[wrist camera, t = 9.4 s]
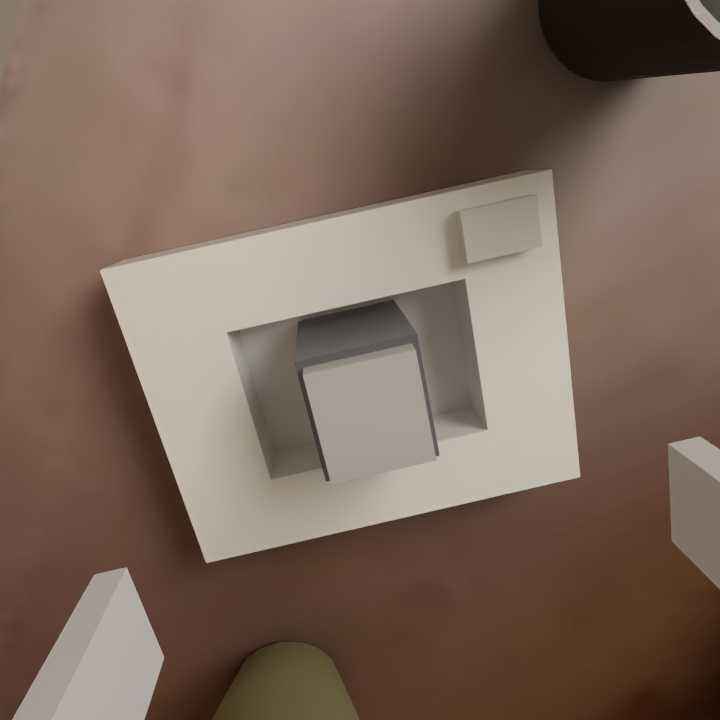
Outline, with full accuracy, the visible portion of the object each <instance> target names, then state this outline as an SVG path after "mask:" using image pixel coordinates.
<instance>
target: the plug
mask: <svg viewBox="0 0 720 720" xmlns="http://www.w3.org/2000/svg"><path fill="white" fill-rule="evenodd" d="M294 363H295V367H296V371H297V374H298V378H299V382H300V386H301V390H302V393H303V397H304V401H305V405H306V408H307V412H308V416H309V420H310V424H311V427H312V431H313V435H314V439H315V442H316V446H317V450H318V454H319V458H320V461H321V465H322V469H323V473H324V476H325V480H326V482H328V481H330V482H331V485H332V484H336V483H340V482H345V481H349V480H353V479H358V478H362V477H366V476H371V475H375V474H379V473H384V472H388V471H392V470H397V469H401V468H405V467H410V466H414V465H418V464H423V463H427V462H431V461H436V456H440V455H439V449H438V444H437V438H436V433H435V427H434V422H433V417H432V411H431V406H430V400H429V395H428V390H427V384H426V379H425V373H424V368H423V363H422V357H421V352H420V346H419V341H418V336H417V333H416V331H415V330H414V328H413V327H412V326H411V324H410V323H409V321H408V320H407V318H406V317H405V315H404V314H403V312H402V311H401V310H400V308H399V307H398V305H397V304H396V302H395V301H394V300H390V301H385V302H381V303H376V304H372V305H368V306H363V307H359V308H354V309H350V310H346V311H341V312H337V313H332V314H328V315H324V316H319V317H315V318H310V319H306V320H301V321H298V328H297V338H296V348H295V358H294Z"/></svg>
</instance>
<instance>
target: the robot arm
mask: <svg viewBox="0 0 720 720" xmlns="http://www.w3.org/2000/svg"><path fill="white" fill-rule="evenodd" d="M668 455H669V482H670V509H671V535H672V542H673V543H674V544H675V545H676V546H677V547H678V548H679V549H680V550H681V551H682V552H683V553H684V554H685V555H686V556H687V557H688V558H689V559H690V560H691V561H692V562H693V563H694V564H695V565H696V566H697V567H698V568H699V569H700V570H701V571H702V572H703V573H704V574H705V575H706V576H707V577H708V578H709V579H710V580H711V581H712V582H713V583H714V584H715V585H716V586H717V587H718V588H719V589H720V449H718V448H716V447H715V446H713V445H712V444H710V443H709V442H707V441H706V440H704V439H703V438H701V437H696V438H691V439H687V440H683V441H678V442H674V443H670V444H668ZM163 660H164V656H163V653H162V651H161V649H160V646H159V644H158V641H157V639H156V637H155V634H154V632H153V629H152V627H151V625H150V622H149V620H148V617H147V615H146V613H145V610H144V608H143V605H142V603H141V601H140V598H139V596H138V593H137V591H136V589H135V586H134V584H133V581H132V579H131V576H130V574H129V572H128V569H127V567H126V568H121V569H117V570H112V571H108V572H104V573H99V574H95V575H94V576H93V578H92V580H91V581H90V583H89V585H88V587H87V588H86V590H85V592H84V594H83V595H82V597H81V599H80V601H79V602H78V604H77V606H76V608H75V610H74V611H73V613H72V615H71V617H70V618H69V620H68V622H67V624H66V625H65V627H64V629H63V631H62V632H61V634H60V636H59V638H58V640H57V641H56V643H55V645H54V647H53V648H52V650H51V652H50V654H49V655H48V657H47V659H46V661H45V662H44V664H43V666H42V668H41V670H40V671H39V673H38V675H37V677H36V678H35V680H34V682H33V684H32V685H31V687H30V689H29V691H28V692H27V694H26V696H25V698H24V700H23V701H22V703H21V705H20V707H19V708H18V710H17V712H16V714H15V715H14V717H13V719H12V720H145V716H146V713H147V710H148V707H149V704H150V701H151V698H152V695H153V691H154V688H155V685H156V682H157V679H158V676H159V673H160V669H161V666H162V663H163Z"/></svg>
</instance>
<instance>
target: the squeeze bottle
mask: <svg viewBox="0 0 720 720" xmlns="http://www.w3.org/2000/svg"><path fill="white" fill-rule="evenodd" d="M212 720H359V717H358V715H357V713H356V710H355V708H354V706H353V703H352V701H351V699H350V697H349V695H348V693H347V690H346V688H345V686H344V684H343V682H342V679H341V677H340V675H339V673H338V671H337V669H336V666H335V664H334V662H333V660H332V659H331V658H330V657H329V656H328V655H327V654H325V653H324V652H323V651H322V650H321V649H320V648H317V647H315V646H312V645H309V644H306V643H303V642H277V643H274V644H271V645H268V646H265V647H261V648H260V649H258V650H257V651H256V652H254V653H253V654H252V655H250V656H249V657H248V658H246V659H245V661H244V663H243V665H242V666H241V668H240V670H239V672H238V673H237V675H236V677H235V679H234V681H233V682H232V684H231V686H230V688H229V690H228V691H227V693H226V695H225V697H224V698H223V700H222V702H221V704H220V706H219V707H218V709H217V711H216V713H215V714H214V716H213V718H212Z"/></svg>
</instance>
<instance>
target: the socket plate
mask: <svg viewBox="0 0 720 720" xmlns="http://www.w3.org/2000/svg"><path fill="white" fill-rule="evenodd" d="M100 273H101V275H102V278H103V281H104V284H105V286H106V289H107V292H108V295H109V297H110V300H111V303H112V306H113V308H114V311H115V314H116V317H117V319H118V322H119V325H120V328H121V330H122V333H123V336H124V339H125V341H126V344H127V347H128V350H129V352H130V355H131V358H132V361H133V363H134V366H135V369H136V372H137V374H138V377H139V380H140V383H141V385H142V388H143V391H144V394H145V396H146V399H147V402H148V405H149V407H150V410H151V413H152V416H153V418H154V421H155V424H156V427H157V429H158V432H159V435H160V438H161V440H162V443H163V446H164V449H165V451H166V454H167V457H168V460H169V462H170V465H171V468H172V471H173V473H174V476H175V479H176V482H177V484H178V487H179V490H180V493H181V495H182V498H183V501H184V504H185V506H186V509H187V512H188V515H189V517H190V520H191V523H192V526H193V528H194V531H195V534H196V537H197V539H198V542H199V545H200V548H201V550H202V553H203V556H204V559H205V561H206V563H209V562H214V561H218V560H222V559H227V558H231V557H235V556H240V555H244V554H248V553H253V552H257V551H261V550H266V549H270V548H274V547H279V546H283V545H287V544H292V543H296V542H300V541H305V540H309V539H313V538H318V537H322V536H326V535H331V534H335V533H339V532H344V531H348V530H352V529H357V528H361V527H365V526H370V525H374V524H378V523H383V522H387V521H391V520H396V519H400V518H404V517H409V516H413V515H417V514H422V513H426V512H430V511H435V510H439V509H443V508H448V507H452V506H456V505H461V504H465V503H469V502H474V501H478V500H482V499H487V498H491V497H495V496H500V495H504V494H509V493H513V492H517V491H522V490H526V489H530V488H535V487H539V486H543V485H548V484H552V483H556V482H561V481H565V480H569V479H574V478H578V477H580V469H579V458H578V447H577V436H576V425H575V414H574V403H573V393H572V382H571V371H570V360H569V349H568V338H567V327H566V317H565V306H564V295H563V284H562V273H561V262H560V251H559V241H558V230H557V219H556V208H555V197H554V186H553V175H552V169H545V170H525V171H520V172H515V173H511V174H506V175H502V176H497V177H493V178H488V179H484V180H479V181H475V182H470V183H466V184H461V185H457V186H452V187H448V188H444V189H439V190H435V191H430V192H426V193H421V194H417V195H412V196H408V197H403V198H399V199H394V200H390V201H385V202H381V203H376V204H372V205H367V206H363V207H358V208H354V209H349V210H345V211H340V212H336V213H331V214H327V215H323V216H318V217H314V218H309V219H305V220H300V221H296V222H291V223H287V224H282V225H278V226H273V227H269V228H264V229H260V230H255V231H251V232H246V233H242V234H237V235H233V236H228V237H224V238H219V239H215V240H210V241H206V242H202V243H197V244H193V245H188V246H184V247H179V248H175V249H170V250H166V251H161V252H157V253H152V254H148V255H143V256H139V257H134V258H130V259H125V260H123V261H120V262H118V263H115V264H113V265H111V266H108V267H106V268H104V269H101V270H100ZM390 300H394V301H395V302H396V304H397V305H398V307H399V308H400V310H401V311H402V312H403V314H404V315H405V317H406V318H407V320H408V321H409V323H410V324H411V326H412V327H413V328H414V330H415V331H416V333H417V336H418V341H419V346H420V352H421V357H422V363H423V368H424V373H425V379H426V384H427V390H428V395H429V400H430V406H431V411H432V417H433V422H434V427H435V433H436V438H437V444H438V449H439V455H440V456H436V461H431V462H427V463H423V464H418V465H414V466H410V467H405V468H401V469H397V470H392V471H388V472H384V473H379V474H375V475H371V476H366V477H362V478H358V479H353V480H349V481H345V482H340V483H336V484H332V485H331V482H330V481H328V482H326V480H325V476H324V473H323V469H322V465H321V461H320V458H319V454H318V450H317V446H316V442H315V439H314V435H313V431H312V427H311V424H310V420H309V416H308V412H307V408H306V405H305V401H304V397H303V393H302V390H301V386H300V382H299V378H298V374H297V371H296V367H295V363H294V358H295V348H296V338H297V328H298V321H301V320H306V319H310V318H315V317H319V316H324V315H328V314H332V313H337V312H341V311H346V310H350V309H354V308H359V307H363V306H368V305H372V304H376V303H381V302H385V301H390Z"/></svg>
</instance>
